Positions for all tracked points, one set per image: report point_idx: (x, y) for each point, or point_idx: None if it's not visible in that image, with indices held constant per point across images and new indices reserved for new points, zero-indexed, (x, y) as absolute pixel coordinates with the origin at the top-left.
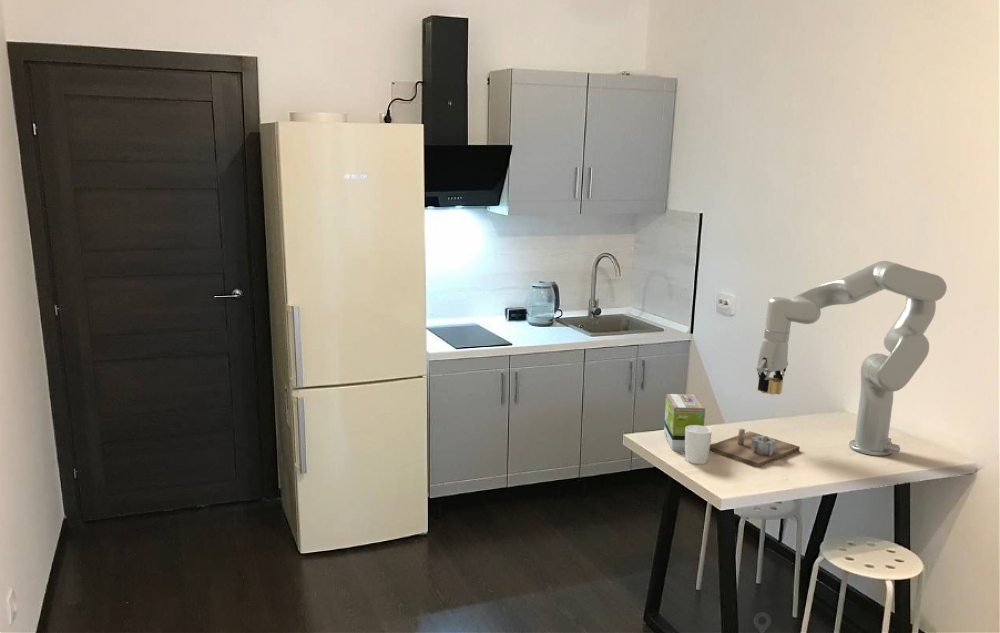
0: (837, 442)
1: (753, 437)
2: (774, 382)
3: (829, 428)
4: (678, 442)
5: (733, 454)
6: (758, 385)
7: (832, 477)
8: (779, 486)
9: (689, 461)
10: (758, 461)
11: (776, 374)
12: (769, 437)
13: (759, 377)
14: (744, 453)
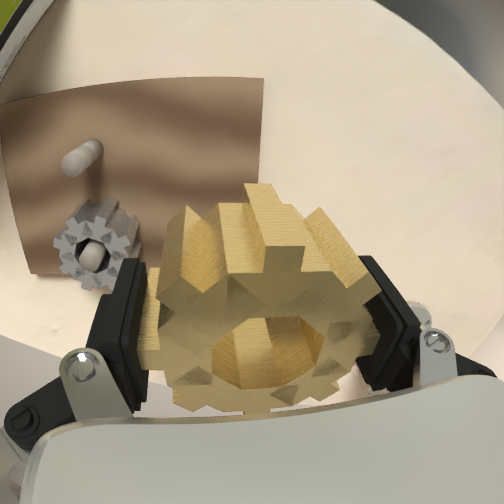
0: (398, 281)
1: (72, 223)
2: (190, 410)
3: (482, 219)
4: None
5: (12, 199)
6: (117, 279)
7: (153, 372)
8: (20, 336)
9: None
10: (38, 268)
11: (401, 357)
12: (126, 255)
13: (68, 367)
14: (43, 211)
